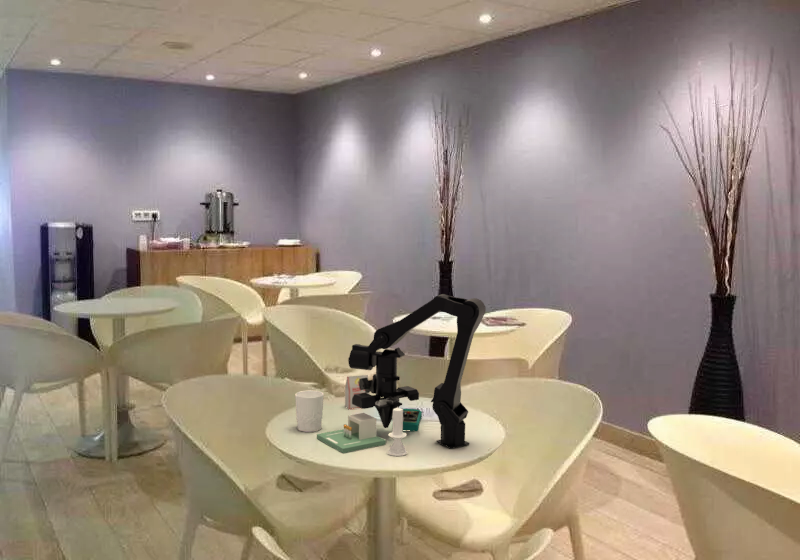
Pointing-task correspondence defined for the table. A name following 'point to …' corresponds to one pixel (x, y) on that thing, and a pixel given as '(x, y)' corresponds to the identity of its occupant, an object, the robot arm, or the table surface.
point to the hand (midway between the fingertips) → (385, 427)
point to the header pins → (347, 432)
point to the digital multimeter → (411, 419)
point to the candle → (397, 434)
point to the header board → (349, 441)
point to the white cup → (309, 410)
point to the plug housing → (362, 425)
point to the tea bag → (352, 389)
